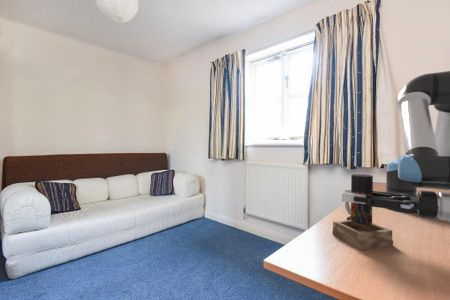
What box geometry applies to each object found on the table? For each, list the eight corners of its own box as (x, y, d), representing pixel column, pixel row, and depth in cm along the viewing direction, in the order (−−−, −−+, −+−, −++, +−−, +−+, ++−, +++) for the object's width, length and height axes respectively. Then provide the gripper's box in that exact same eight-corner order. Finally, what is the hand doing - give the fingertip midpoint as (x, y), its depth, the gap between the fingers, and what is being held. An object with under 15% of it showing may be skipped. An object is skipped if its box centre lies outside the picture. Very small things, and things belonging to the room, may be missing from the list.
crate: (360, 230, 81) (360, 218, 81) (393, 245, 70) (393, 230, 70) (332, 234, 78) (332, 221, 78) (361, 250, 67) (361, 235, 67)
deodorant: (372, 225, 70) (373, 177, 69) (350, 222, 73) (350, 175, 72) (371, 220, 75) (372, 174, 74) (351, 217, 78) (351, 173, 77)
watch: (364, 230, 82) (364, 200, 81) (342, 224, 88) (342, 196, 88) (371, 227, 85) (371, 198, 84) (349, 221, 91) (349, 194, 91)
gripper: (443, 229, 55) (338, 212, 69) (430, 210, 71) (347, 200, 84) (444, 198, 55) (339, 188, 69) (431, 186, 71) (347, 180, 84)
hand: (343, 194), depth 76 cm, fingers closed on deodorant, 6 cm apart
